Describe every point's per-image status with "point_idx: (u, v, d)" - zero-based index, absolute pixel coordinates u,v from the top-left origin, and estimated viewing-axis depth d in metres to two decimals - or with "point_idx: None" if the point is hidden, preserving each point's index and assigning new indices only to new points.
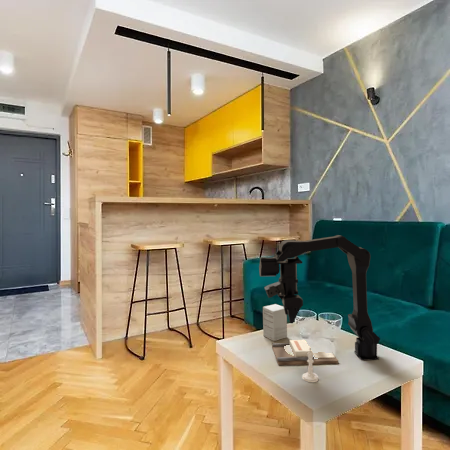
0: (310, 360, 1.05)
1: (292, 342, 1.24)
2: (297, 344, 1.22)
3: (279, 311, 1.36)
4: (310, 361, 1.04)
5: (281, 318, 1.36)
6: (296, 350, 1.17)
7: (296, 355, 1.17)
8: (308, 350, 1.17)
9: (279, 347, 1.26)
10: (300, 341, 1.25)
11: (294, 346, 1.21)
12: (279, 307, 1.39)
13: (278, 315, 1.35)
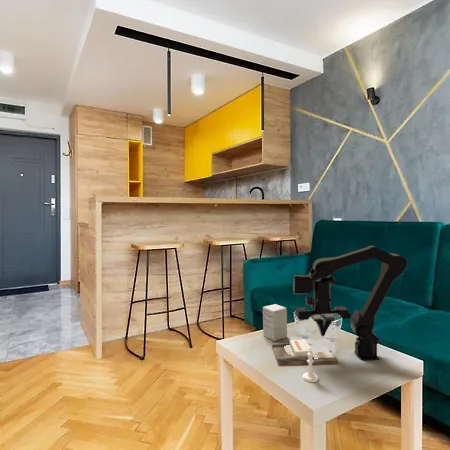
0: (310, 360, 1.05)
1: (292, 342, 1.24)
2: (297, 344, 1.22)
3: (279, 311, 1.36)
4: (310, 361, 1.04)
5: (281, 318, 1.36)
6: (296, 350, 1.17)
7: (296, 355, 1.17)
8: (308, 350, 1.17)
9: (279, 347, 1.26)
10: (300, 341, 1.25)
11: (294, 346, 1.21)
12: (279, 307, 1.39)
13: (278, 315, 1.35)
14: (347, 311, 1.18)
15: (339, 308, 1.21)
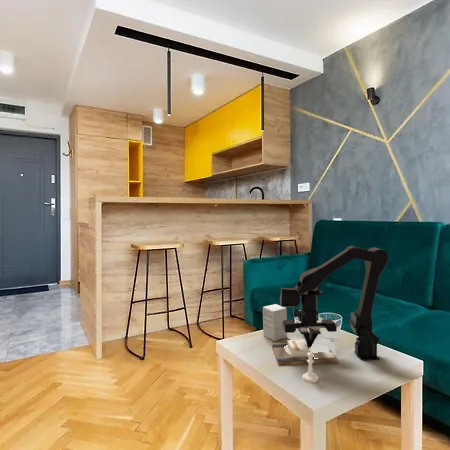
0: (310, 360, 1.05)
1: (290, 342, 1.24)
2: (295, 344, 1.22)
3: (279, 311, 1.36)
4: (310, 361, 1.04)
5: (281, 318, 1.36)
6: (294, 350, 1.17)
7: (294, 355, 1.17)
8: (306, 350, 1.17)
9: (279, 347, 1.26)
10: (298, 341, 1.25)
11: (292, 346, 1.21)
12: (279, 307, 1.39)
13: (278, 315, 1.35)
14: (333, 324, 1.19)
15: (326, 321, 1.21)
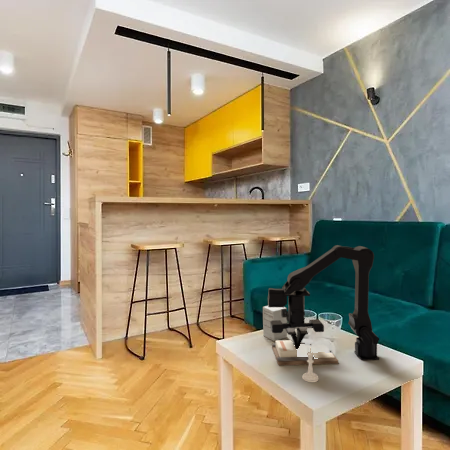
0: (310, 360, 1.05)
1: (278, 342, 1.24)
2: (282, 345, 1.22)
3: (279, 311, 1.36)
4: (310, 361, 1.04)
5: (281, 318, 1.36)
6: (281, 350, 1.17)
7: (281, 355, 1.17)
8: (293, 350, 1.17)
9: None
10: (286, 341, 1.25)
11: (279, 346, 1.21)
12: (279, 307, 1.39)
13: (278, 315, 1.35)
14: (321, 325, 1.19)
15: (313, 321, 1.21)
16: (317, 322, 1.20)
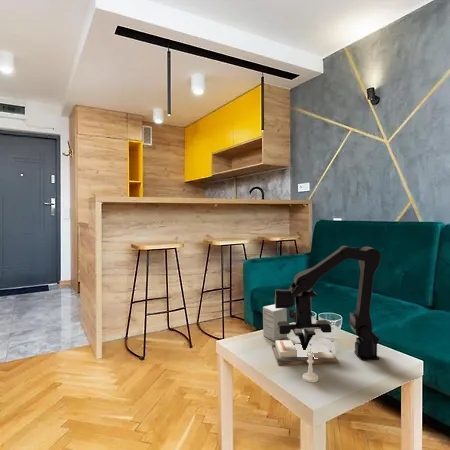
0: (310, 360, 1.05)
1: (278, 342, 1.24)
2: (282, 345, 1.22)
3: (279, 311, 1.36)
4: (310, 361, 1.04)
5: (281, 318, 1.36)
6: (281, 350, 1.17)
7: (281, 355, 1.17)
8: (293, 350, 1.17)
9: None
10: (286, 341, 1.25)
11: (279, 346, 1.21)
12: None
13: (278, 315, 1.35)
14: (328, 325, 1.19)
15: (320, 322, 1.21)
16: (324, 323, 1.20)
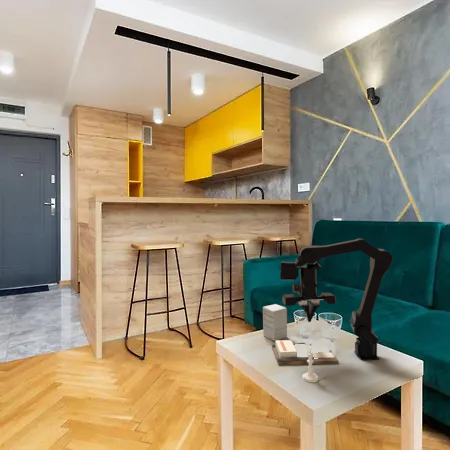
0: (310, 360, 1.05)
1: (278, 342, 1.24)
2: (282, 345, 1.22)
3: (279, 311, 1.36)
4: (310, 361, 1.04)
5: (281, 318, 1.36)
6: (281, 350, 1.17)
7: (281, 355, 1.17)
8: (293, 350, 1.17)
9: None
10: (286, 341, 1.25)
11: (279, 346, 1.21)
12: (279, 307, 1.39)
13: (278, 315, 1.35)
14: (333, 297, 1.20)
15: (325, 294, 1.23)
16: (329, 294, 1.22)
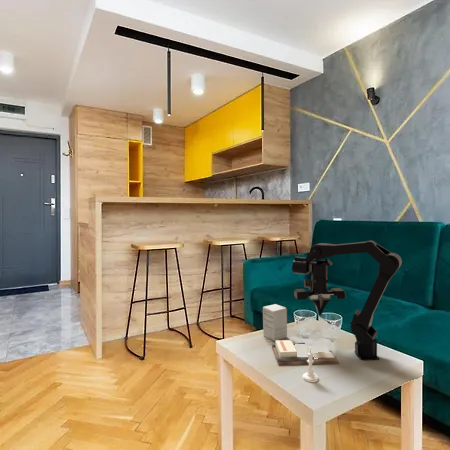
0: (310, 360, 1.05)
1: (278, 342, 1.24)
2: (282, 345, 1.22)
3: (279, 311, 1.36)
4: (310, 361, 1.04)
5: (281, 318, 1.36)
6: (281, 350, 1.17)
7: (281, 355, 1.17)
8: (293, 350, 1.17)
9: None
10: (286, 341, 1.25)
11: (279, 346, 1.21)
12: (279, 307, 1.39)
13: (278, 315, 1.35)
14: (343, 292, 1.26)
15: (335, 289, 1.28)
16: (339, 290, 1.28)
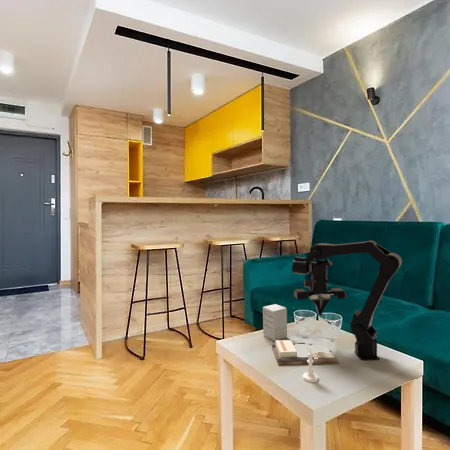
0: (310, 360, 1.05)
1: (278, 342, 1.24)
2: (282, 345, 1.22)
3: (279, 311, 1.36)
4: (310, 361, 1.04)
5: (281, 318, 1.36)
6: (281, 350, 1.17)
7: (281, 355, 1.17)
8: (293, 350, 1.17)
9: None
10: (286, 341, 1.25)
11: (279, 346, 1.21)
12: (279, 307, 1.39)
13: (278, 315, 1.35)
14: (343, 292, 1.26)
15: (335, 289, 1.28)
16: (339, 290, 1.28)
